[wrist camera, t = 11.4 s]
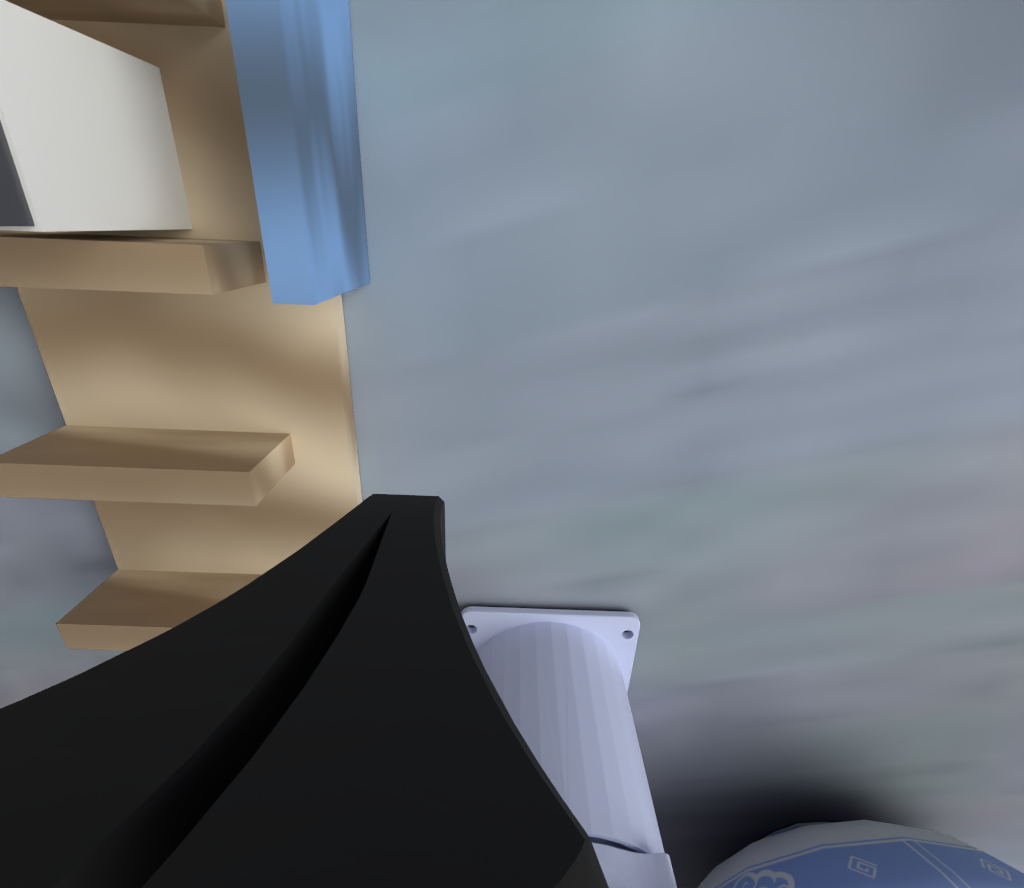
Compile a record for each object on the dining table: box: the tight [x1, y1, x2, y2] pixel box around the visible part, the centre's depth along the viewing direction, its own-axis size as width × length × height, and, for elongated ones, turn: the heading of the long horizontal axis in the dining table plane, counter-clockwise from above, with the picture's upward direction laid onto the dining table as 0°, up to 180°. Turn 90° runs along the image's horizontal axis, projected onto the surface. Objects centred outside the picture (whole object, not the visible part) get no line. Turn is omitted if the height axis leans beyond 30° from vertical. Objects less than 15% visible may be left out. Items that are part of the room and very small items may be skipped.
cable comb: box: [0, 0, 370, 651], centre depth 15 cm, size 20×11×5 cm, turn 178°
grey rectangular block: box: [0, 0, 193, 232], centre depth 11 cm, size 4×4×6 cm
